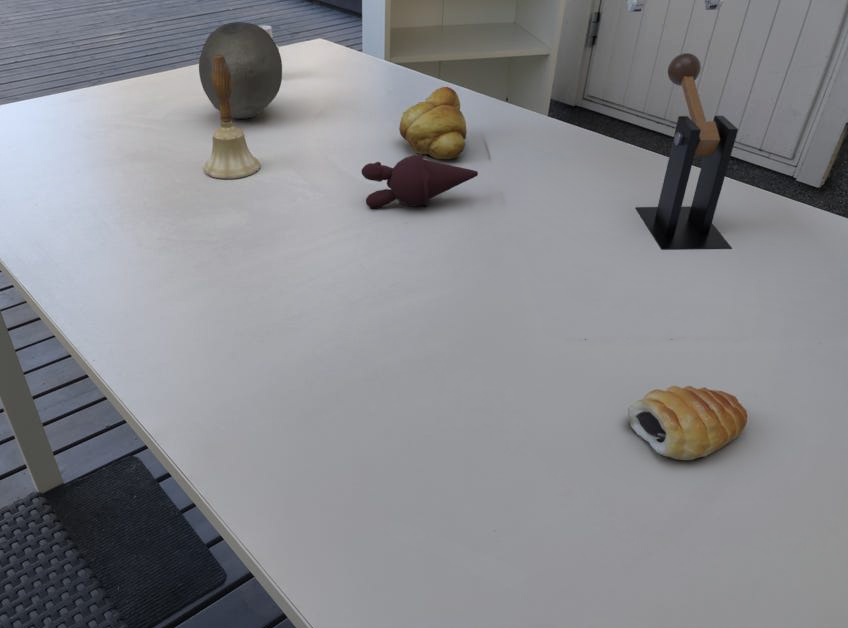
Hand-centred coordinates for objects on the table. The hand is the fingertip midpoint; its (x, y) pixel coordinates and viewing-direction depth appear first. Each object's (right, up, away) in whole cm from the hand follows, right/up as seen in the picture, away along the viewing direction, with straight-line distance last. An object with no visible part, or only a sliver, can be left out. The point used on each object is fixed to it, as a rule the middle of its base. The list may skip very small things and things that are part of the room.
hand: (675, 8), depth 91 cm
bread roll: (-28, -11, +23) cm, 38 cm away
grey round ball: (-58, -2, +37) cm, 69 cm away
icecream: (-31, -22, +8) cm, 39 cm away
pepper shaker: (-57, +12, +54) cm, 80 cm away
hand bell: (-58, -15, +19) cm, 62 cm away
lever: (0, -14, -4) cm, 15 cm away
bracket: (0, -28, -1) cm, 28 cm away
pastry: (-11, -49, -28) cm, 58 cm away
